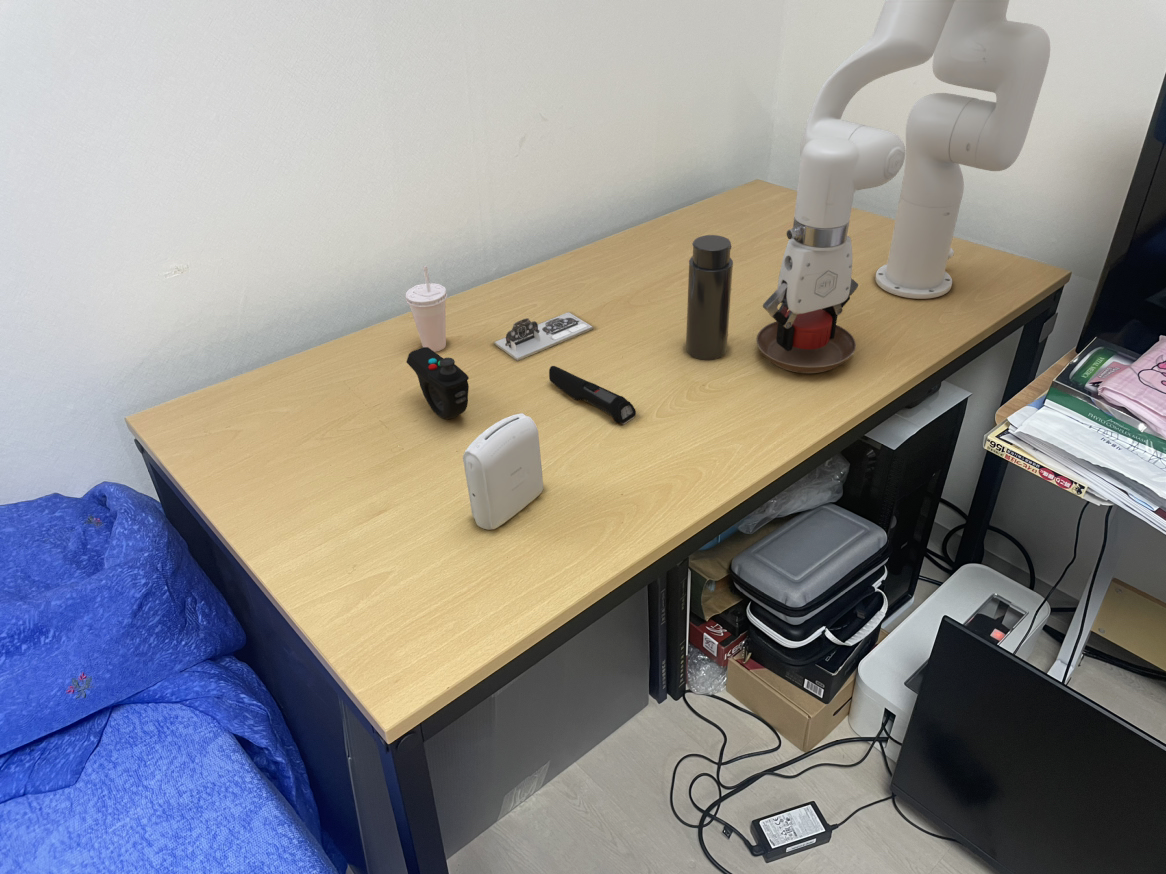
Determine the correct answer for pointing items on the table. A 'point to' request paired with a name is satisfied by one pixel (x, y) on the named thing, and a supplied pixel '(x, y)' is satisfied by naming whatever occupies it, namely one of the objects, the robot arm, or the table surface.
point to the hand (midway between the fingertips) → (805, 340)
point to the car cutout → (540, 335)
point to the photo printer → (503, 470)
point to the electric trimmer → (593, 395)
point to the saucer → (806, 351)
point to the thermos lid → (812, 329)
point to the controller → (440, 382)
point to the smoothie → (429, 312)
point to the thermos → (709, 297)
